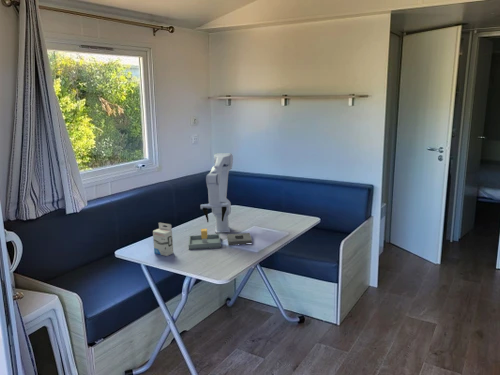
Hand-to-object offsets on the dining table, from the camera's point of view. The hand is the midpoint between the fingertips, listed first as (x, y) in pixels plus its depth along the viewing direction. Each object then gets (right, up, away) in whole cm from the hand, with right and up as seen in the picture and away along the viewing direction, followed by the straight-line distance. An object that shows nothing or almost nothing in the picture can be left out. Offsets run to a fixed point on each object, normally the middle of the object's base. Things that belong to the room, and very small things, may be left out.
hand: (215, 221), depth 232 cm
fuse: (-5, -11, -5) cm, 13 cm away
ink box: (-24, -15, -16) cm, 32 cm away
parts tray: (-5, -11, -4) cm, 13 cm away
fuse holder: (+13, -10, -2) cm, 16 cm away
